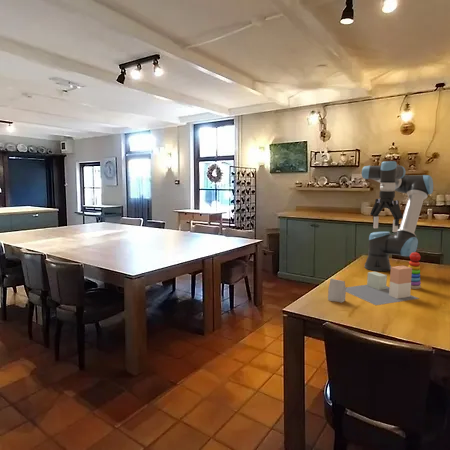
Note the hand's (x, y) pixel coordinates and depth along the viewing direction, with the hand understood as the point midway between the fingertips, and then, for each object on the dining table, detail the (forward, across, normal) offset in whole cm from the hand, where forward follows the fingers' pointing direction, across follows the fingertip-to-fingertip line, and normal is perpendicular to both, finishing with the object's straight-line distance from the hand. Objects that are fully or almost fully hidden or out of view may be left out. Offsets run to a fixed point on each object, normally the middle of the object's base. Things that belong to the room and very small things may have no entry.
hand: (385, 230), depth 197 cm
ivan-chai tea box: (+28, +17, -44) cm, 56 cm away
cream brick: (+28, +24, -13) cm, 39 cm away
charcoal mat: (+28, +17, -20) cm, 38 cm away
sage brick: (+28, +9, -12) cm, 32 cm away
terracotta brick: (+21, +24, -12) cm, 34 cm away
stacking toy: (+29, +15, +6) cm, 33 cm away
